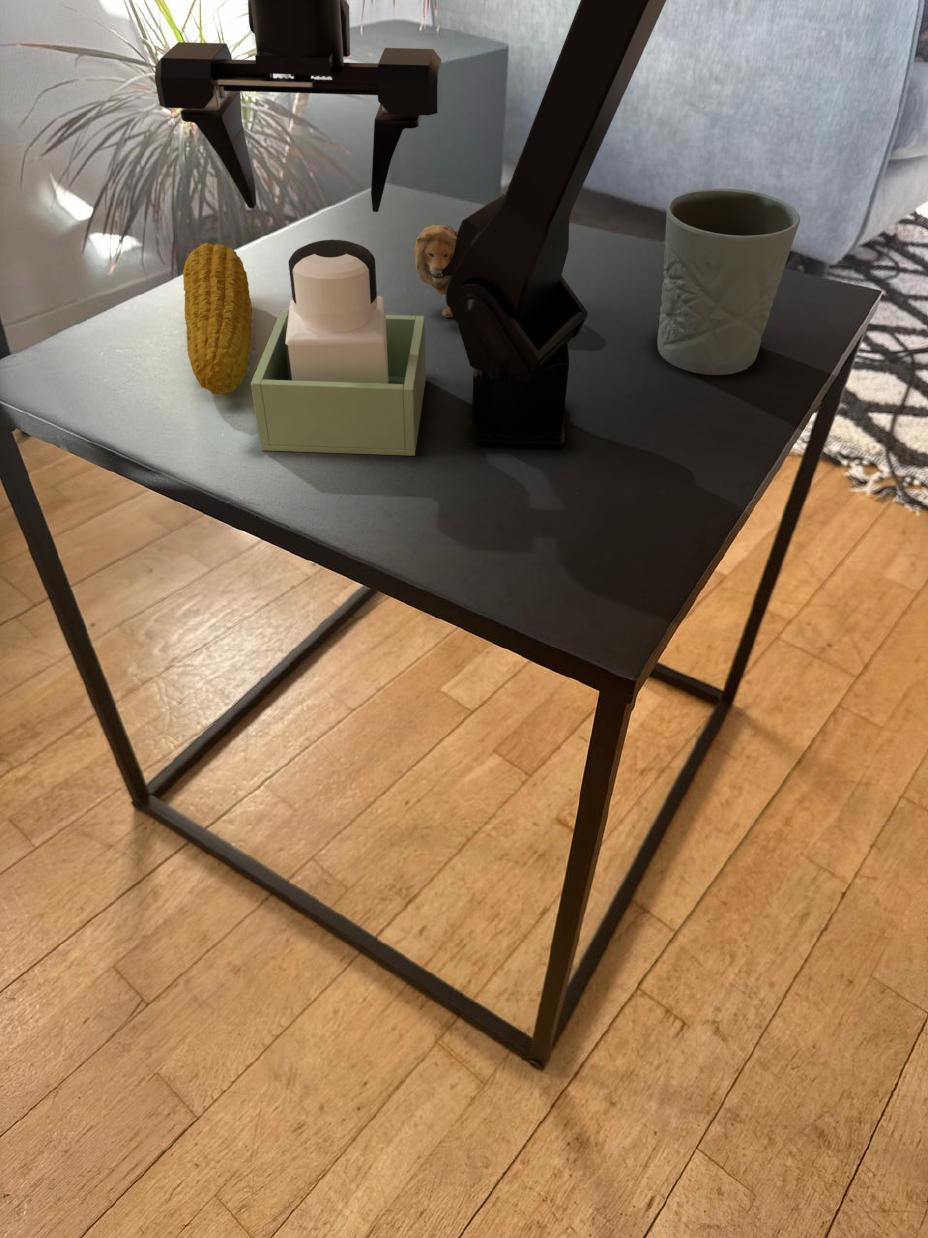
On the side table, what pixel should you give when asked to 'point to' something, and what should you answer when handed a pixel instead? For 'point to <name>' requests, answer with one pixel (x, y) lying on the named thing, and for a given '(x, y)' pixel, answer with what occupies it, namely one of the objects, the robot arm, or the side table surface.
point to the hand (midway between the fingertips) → (314, 208)
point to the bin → (343, 399)
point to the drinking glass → (721, 276)
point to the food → (217, 317)
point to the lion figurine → (435, 257)
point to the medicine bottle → (336, 315)
